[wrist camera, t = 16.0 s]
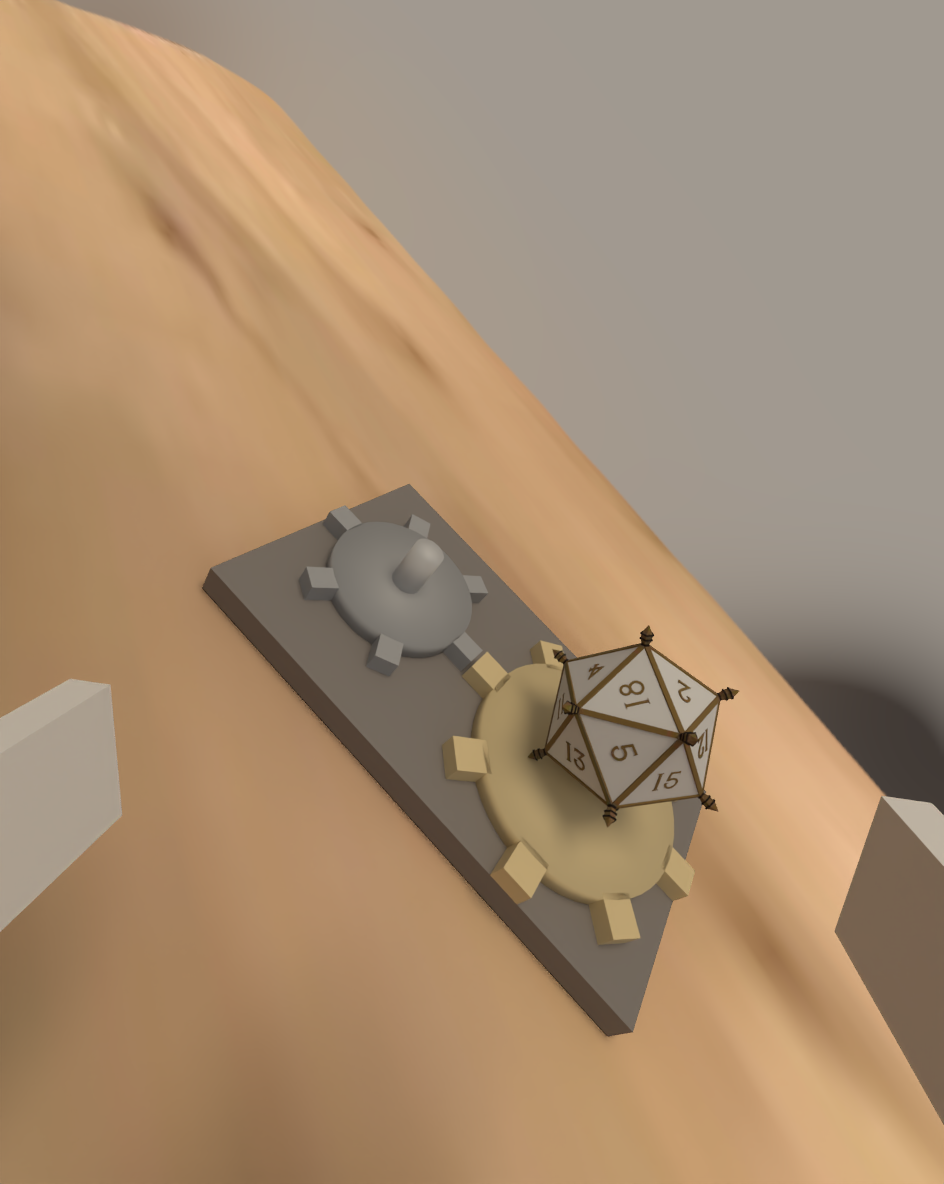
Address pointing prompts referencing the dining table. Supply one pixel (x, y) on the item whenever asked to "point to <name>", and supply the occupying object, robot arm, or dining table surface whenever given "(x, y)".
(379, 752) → the gear board
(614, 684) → the game die
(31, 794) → the robot arm
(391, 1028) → the dining table surface
